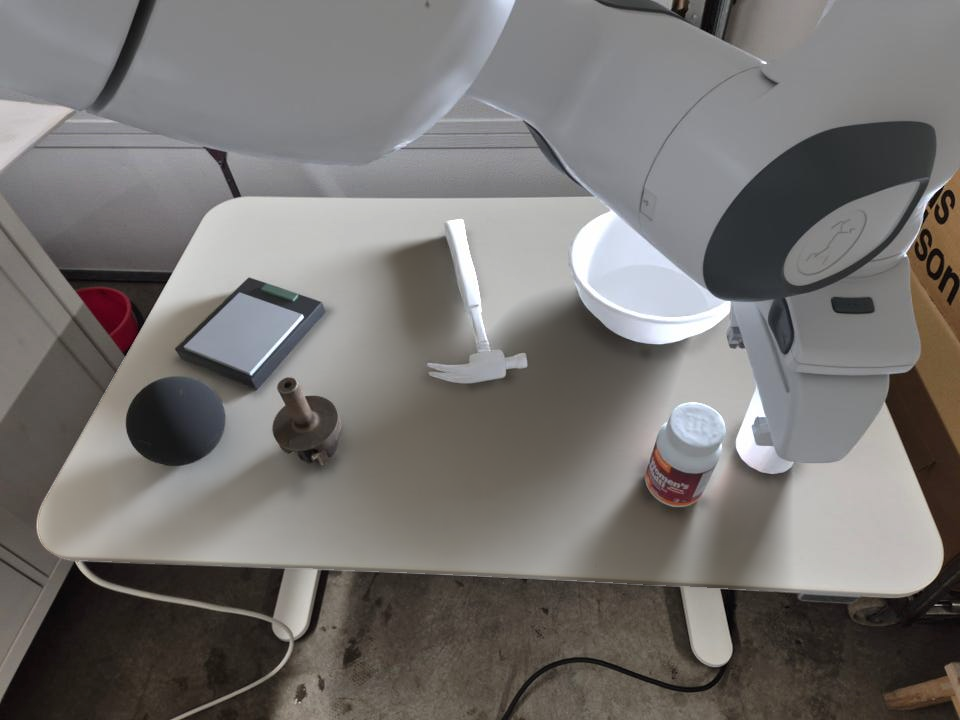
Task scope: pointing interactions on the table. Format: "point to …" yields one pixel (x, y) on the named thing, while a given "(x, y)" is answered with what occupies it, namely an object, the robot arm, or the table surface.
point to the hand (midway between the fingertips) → (749, 387)
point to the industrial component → (306, 424)
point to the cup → (752, 453)
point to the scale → (251, 332)
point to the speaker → (175, 421)
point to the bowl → (638, 285)
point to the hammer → (484, 361)
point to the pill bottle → (685, 454)
